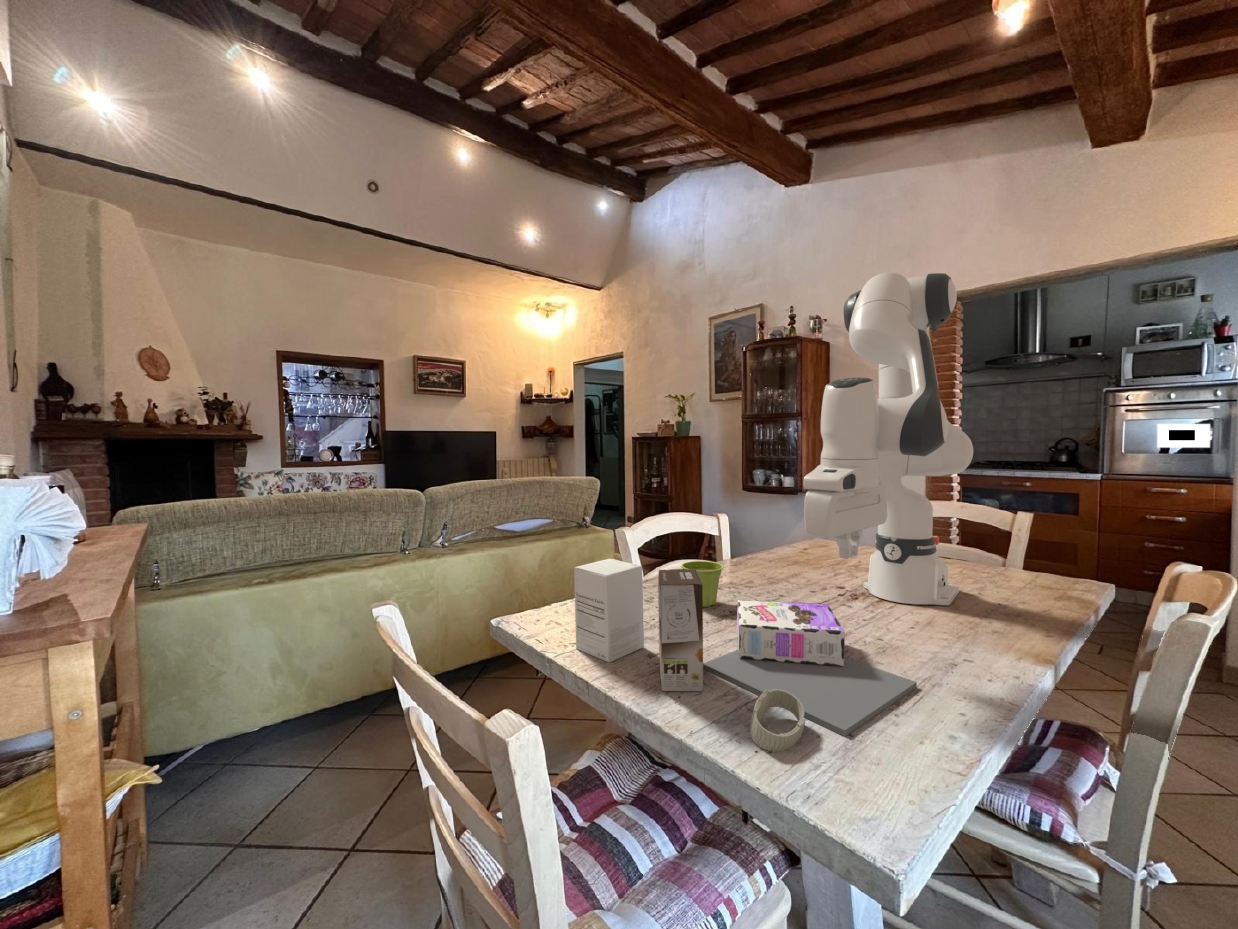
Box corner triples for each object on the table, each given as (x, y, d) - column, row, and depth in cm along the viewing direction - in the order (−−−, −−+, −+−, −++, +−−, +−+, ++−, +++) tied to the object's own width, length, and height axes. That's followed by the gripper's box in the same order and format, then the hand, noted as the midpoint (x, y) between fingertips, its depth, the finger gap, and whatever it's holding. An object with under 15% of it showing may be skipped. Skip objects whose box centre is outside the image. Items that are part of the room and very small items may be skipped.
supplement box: (610, 634, 96) (609, 557, 96) (645, 647, 90) (644, 565, 89) (574, 648, 90) (572, 566, 89) (608, 664, 84) (607, 575, 83)
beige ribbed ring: (766, 710, 69) (766, 675, 68) (814, 726, 65) (814, 688, 65) (739, 743, 61) (739, 703, 61) (791, 762, 58) (791, 720, 57)
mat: (777, 638, 93) (777, 633, 93) (916, 687, 74) (916, 682, 74) (702, 668, 81) (702, 663, 81) (844, 736, 62) (844, 730, 62)
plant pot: (681, 596, 119) (681, 560, 119) (722, 597, 118) (721, 561, 118) (681, 609, 110) (680, 570, 110) (724, 610, 109) (724, 571, 108)
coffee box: (704, 692, 74) (704, 584, 73) (661, 692, 74) (659, 584, 73) (697, 664, 83) (696, 568, 82) (658, 664, 83) (657, 568, 82)
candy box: (846, 631, 79) (738, 625, 82) (845, 668, 79) (738, 660, 83) (828, 602, 92) (736, 598, 96) (828, 634, 93) (736, 628, 96)
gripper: (862, 470, 93) (861, 544, 94) (796, 478, 80) (797, 564, 81) (897, 472, 88) (896, 550, 88) (834, 481, 75) (833, 572, 76)
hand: (848, 557), depth 85 cm, fingers closed
